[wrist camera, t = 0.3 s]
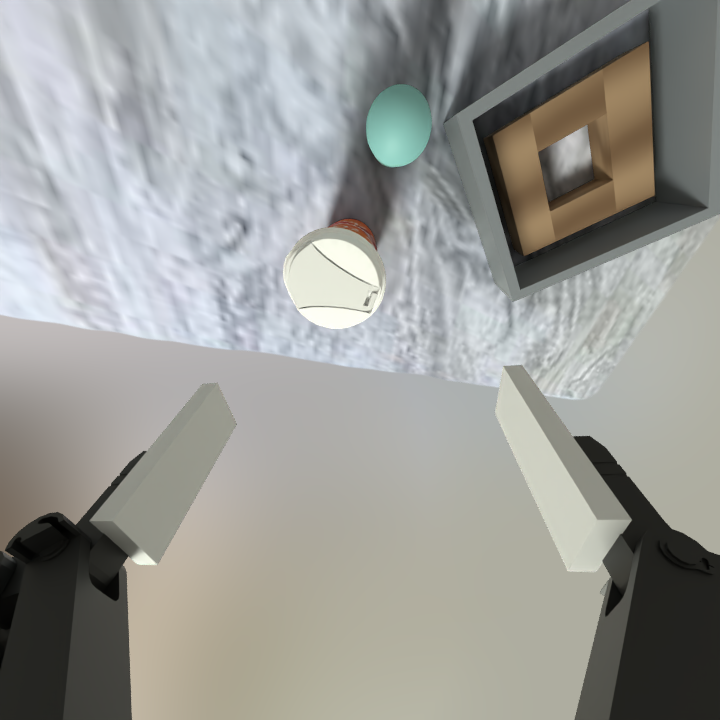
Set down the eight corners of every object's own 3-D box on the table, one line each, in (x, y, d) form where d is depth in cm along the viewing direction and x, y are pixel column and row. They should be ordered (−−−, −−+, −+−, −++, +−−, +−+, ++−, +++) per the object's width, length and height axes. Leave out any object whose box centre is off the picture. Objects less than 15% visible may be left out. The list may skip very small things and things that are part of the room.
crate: (443, 123, 29) (456, 114, 24) (663, -20, 23) (740, -72, 18) (495, 283, 37) (512, 302, 32) (667, 205, 31) (722, 213, 26)
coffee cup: (394, 221, 34) (402, 252, 21) (371, 287, 38) (366, 346, 26) (324, 196, 33) (288, 212, 20) (308, 267, 37) (271, 317, 25)
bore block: (483, 138, 29) (492, 135, 27) (622, 53, 26) (648, 40, 23) (513, 249, 35) (524, 256, 32) (632, 193, 31) (654, 195, 28)
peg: (365, 134, 30) (354, 112, 18) (401, 108, 28) (415, 66, 17) (383, 175, 31) (384, 179, 20) (418, 153, 30) (441, 143, 18)
